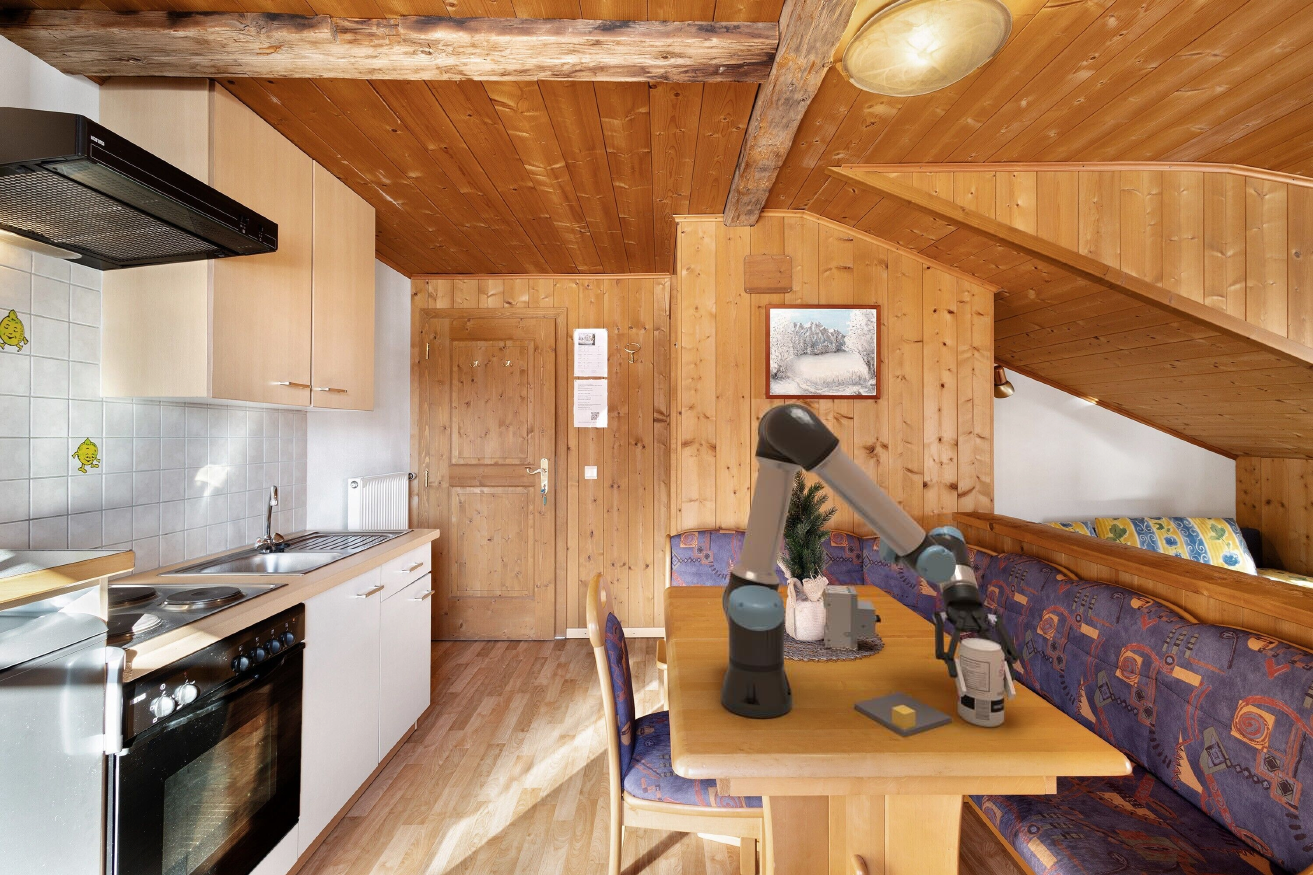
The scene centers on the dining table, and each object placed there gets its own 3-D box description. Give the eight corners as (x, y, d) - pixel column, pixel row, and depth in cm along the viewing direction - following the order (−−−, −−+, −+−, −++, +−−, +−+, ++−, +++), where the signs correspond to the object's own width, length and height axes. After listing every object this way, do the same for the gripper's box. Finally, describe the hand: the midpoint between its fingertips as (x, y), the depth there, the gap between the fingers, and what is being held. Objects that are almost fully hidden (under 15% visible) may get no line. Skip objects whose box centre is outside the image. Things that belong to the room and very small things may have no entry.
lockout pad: (904, 736, 114) (904, 716, 114) (854, 708, 126) (854, 689, 125) (951, 722, 119) (951, 702, 119) (899, 695, 131) (899, 677, 131)
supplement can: (950, 708, 125) (950, 636, 125) (991, 709, 125) (991, 637, 125) (969, 728, 117) (969, 651, 117) (1012, 728, 117) (1013, 651, 116)
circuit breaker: (882, 652, 156) (882, 595, 156) (825, 648, 159) (825, 592, 159) (877, 642, 164) (877, 587, 163) (823, 639, 166) (823, 585, 166)
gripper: (1006, 601, 134) (1039, 706, 118) (906, 597, 137) (926, 699, 122) (1016, 583, 129) (1052, 691, 113) (912, 580, 132) (934, 684, 117)
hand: (987, 695), depth 118 cm, fingers closed on supplement can, 8 cm apart
